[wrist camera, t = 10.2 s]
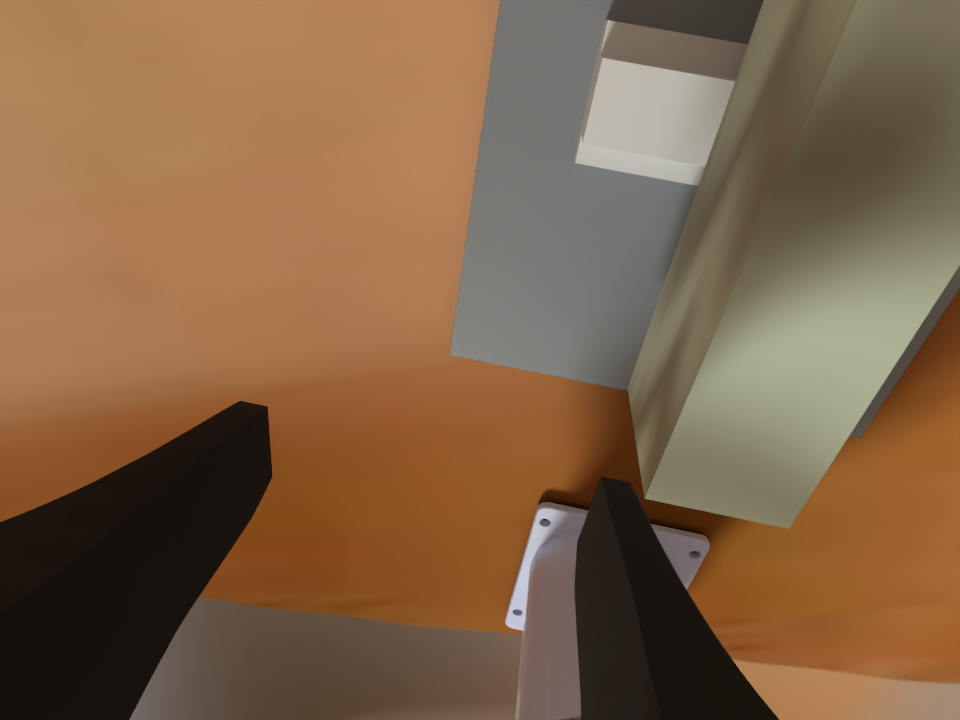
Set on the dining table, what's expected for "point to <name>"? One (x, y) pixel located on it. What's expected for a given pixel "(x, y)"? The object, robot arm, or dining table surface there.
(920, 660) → the dining table surface
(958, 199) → the bar
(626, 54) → the stand
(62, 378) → the dining table surface
